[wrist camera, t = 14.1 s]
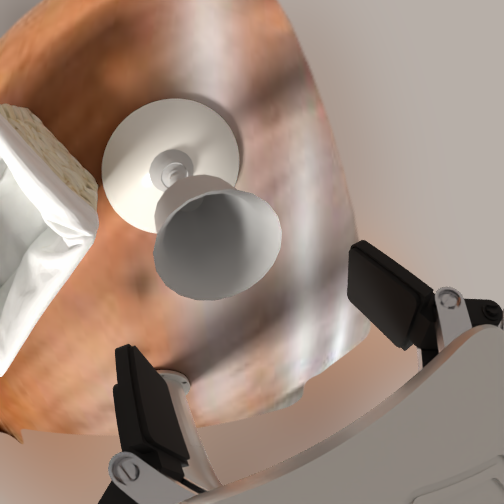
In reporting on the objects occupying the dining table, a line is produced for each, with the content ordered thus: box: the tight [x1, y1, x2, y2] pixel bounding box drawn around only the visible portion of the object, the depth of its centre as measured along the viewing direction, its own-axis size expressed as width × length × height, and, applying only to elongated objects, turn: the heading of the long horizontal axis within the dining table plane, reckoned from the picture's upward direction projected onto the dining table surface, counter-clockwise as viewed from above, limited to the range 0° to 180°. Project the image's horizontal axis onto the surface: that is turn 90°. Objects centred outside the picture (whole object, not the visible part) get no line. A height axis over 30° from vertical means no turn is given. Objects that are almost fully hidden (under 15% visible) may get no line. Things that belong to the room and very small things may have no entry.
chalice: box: [149, 149, 282, 300], centre depth 21 cm, size 7×7×18 cm
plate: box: [102, 99, 239, 233], centre depth 29 cm, size 16×16×1 cm
